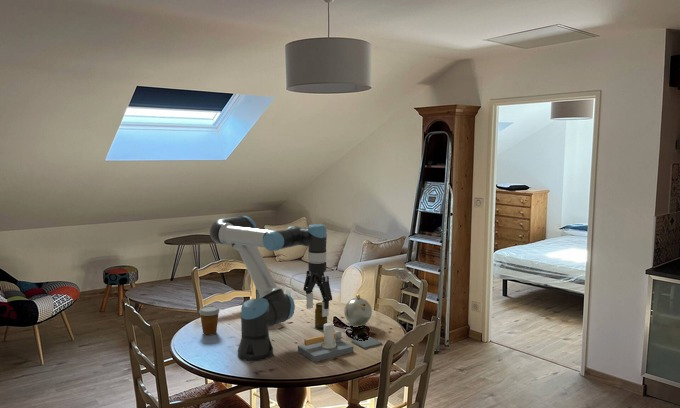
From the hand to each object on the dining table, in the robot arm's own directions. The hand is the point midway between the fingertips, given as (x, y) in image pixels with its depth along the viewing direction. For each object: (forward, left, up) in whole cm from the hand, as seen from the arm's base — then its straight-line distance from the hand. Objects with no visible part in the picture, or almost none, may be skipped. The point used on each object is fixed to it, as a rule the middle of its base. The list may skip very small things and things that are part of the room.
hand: (317, 312), depth 232 cm
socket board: (+7, +4, -20) cm, 22 cm away
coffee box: (+5, +58, -20) cm, 62 cm away
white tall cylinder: (+8, +3, -20) cm, 22 cm away
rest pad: (+28, +2, -20) cm, 35 cm away
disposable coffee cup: (-27, +54, -20) cm, 64 cm away
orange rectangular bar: (+7, +7, -16) cm, 19 cm away
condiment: (+22, +31, -21) cm, 43 cm away
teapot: (+38, +24, -20) cm, 49 cm away
